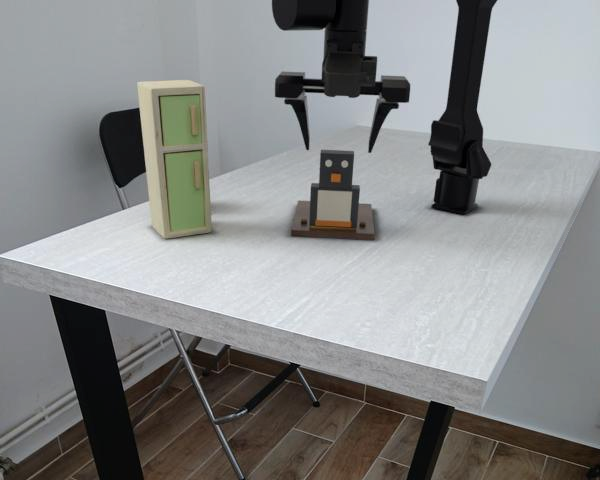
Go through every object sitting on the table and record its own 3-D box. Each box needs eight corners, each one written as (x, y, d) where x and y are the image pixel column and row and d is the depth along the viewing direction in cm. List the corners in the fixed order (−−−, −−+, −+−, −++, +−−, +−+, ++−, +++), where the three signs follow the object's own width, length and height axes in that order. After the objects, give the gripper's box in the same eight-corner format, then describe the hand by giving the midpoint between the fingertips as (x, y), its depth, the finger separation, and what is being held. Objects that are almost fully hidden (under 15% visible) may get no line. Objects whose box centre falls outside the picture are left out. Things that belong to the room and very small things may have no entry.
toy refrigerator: (164, 241, 97) (151, 88, 85) (150, 227, 102) (136, 81, 91) (214, 234, 100) (207, 86, 89) (197, 221, 106) (189, 79, 94)
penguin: (356, 223, 103) (356, 229, 100) (310, 220, 103) (309, 227, 101) (362, 151, 97) (362, 155, 94) (312, 149, 97) (311, 153, 95)
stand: (373, 240, 100) (374, 229, 99) (290, 236, 101) (291, 225, 100) (370, 209, 114) (371, 200, 113) (297, 206, 114) (298, 196, 114)
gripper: (271, 31, 81) (270, 160, 89) (420, 36, 80) (405, 166, 88) (279, 26, 90) (277, 144, 98) (412, 31, 89) (400, 149, 98)
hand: (338, 151), depth 95 cm, fingers open, 9 cm apart
